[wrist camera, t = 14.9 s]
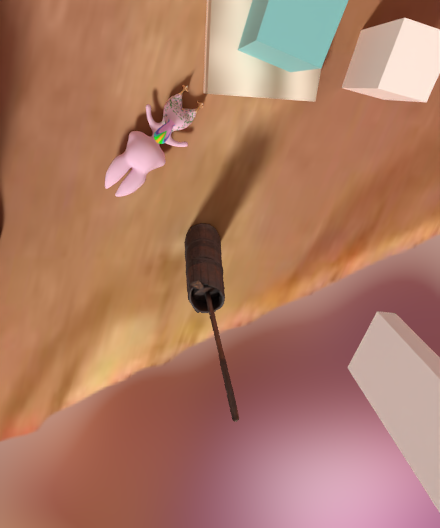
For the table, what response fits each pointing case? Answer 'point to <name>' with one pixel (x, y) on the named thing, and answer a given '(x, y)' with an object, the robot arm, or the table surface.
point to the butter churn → (208, 287)
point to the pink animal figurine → (149, 146)
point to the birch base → (246, 60)
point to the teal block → (291, 32)
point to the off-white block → (395, 61)
